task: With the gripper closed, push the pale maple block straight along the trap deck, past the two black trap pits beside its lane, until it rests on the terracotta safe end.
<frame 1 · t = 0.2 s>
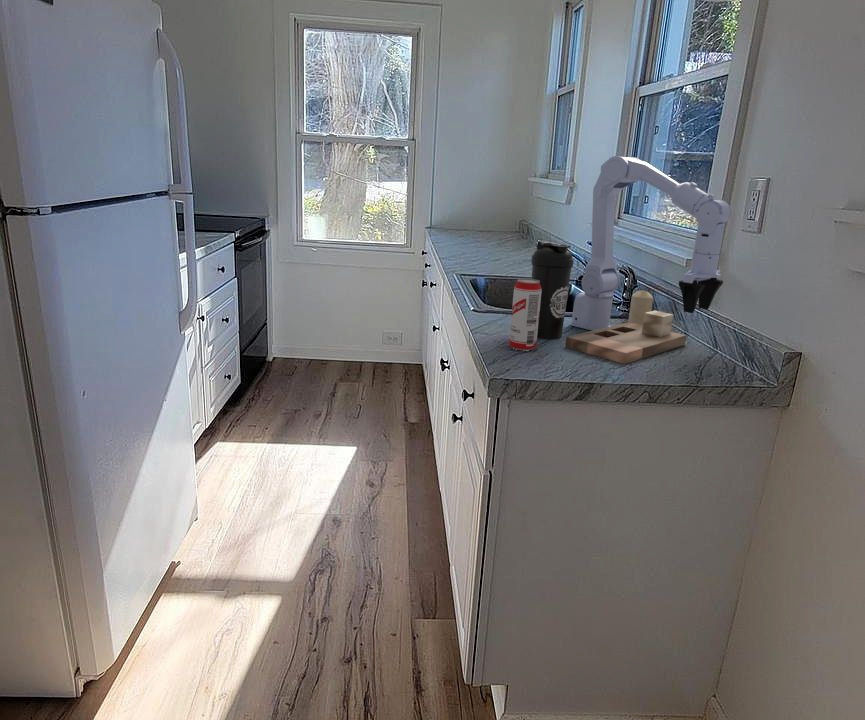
hand: (696, 310, 155), 10 cm above the counter, fingers open, 7 cm apart
trap deck: (626, 345, 159), on the counter
maple block: (655, 333, 162), point 2 cm above the counter, touching trap deck
water bottle: (544, 335, 165), on the counter
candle: (637, 327, 179), on the counter
beer can: (522, 349, 152), on the counter
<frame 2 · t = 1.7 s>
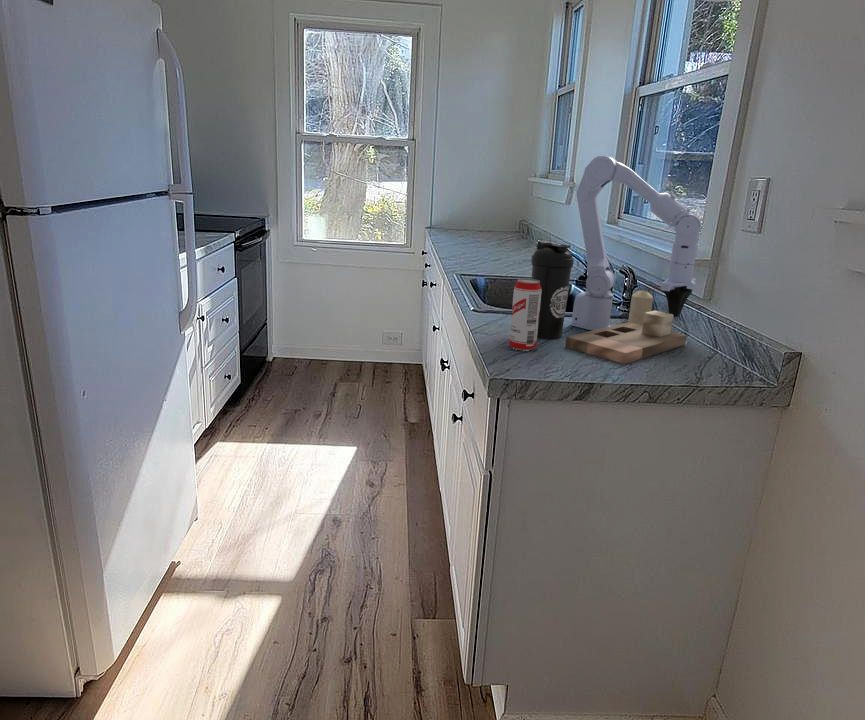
hand: (674, 316, 166), 6 cm above the counter, fingers closed
nothing on the counter moved.
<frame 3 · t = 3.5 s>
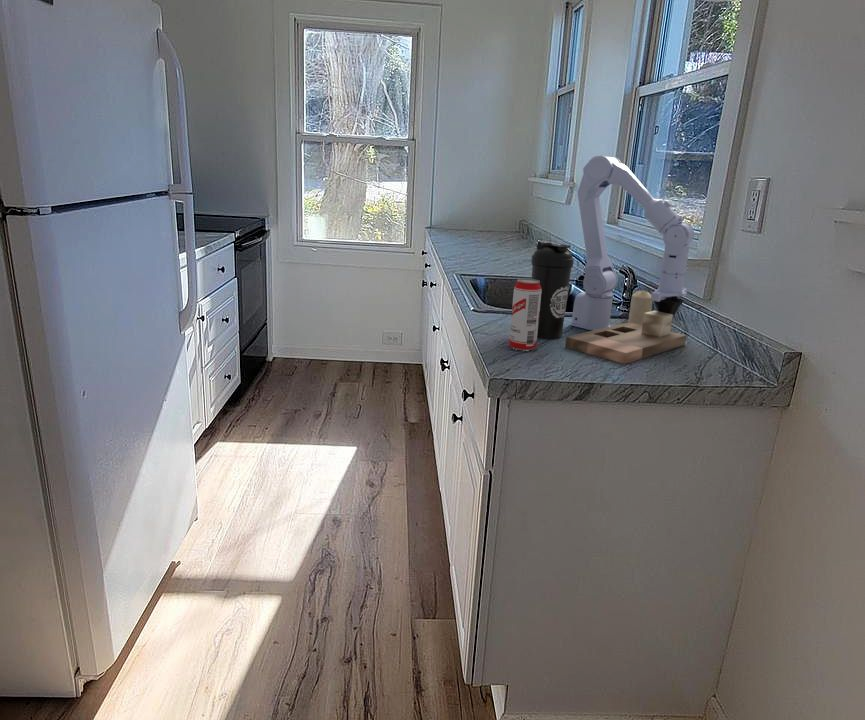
hand: (664, 326, 164), 4 cm above the counter, fingers closed
maple block: (655, 333, 162), point 3 cm above the counter, touching gripper, trap deck
everything else where it was.
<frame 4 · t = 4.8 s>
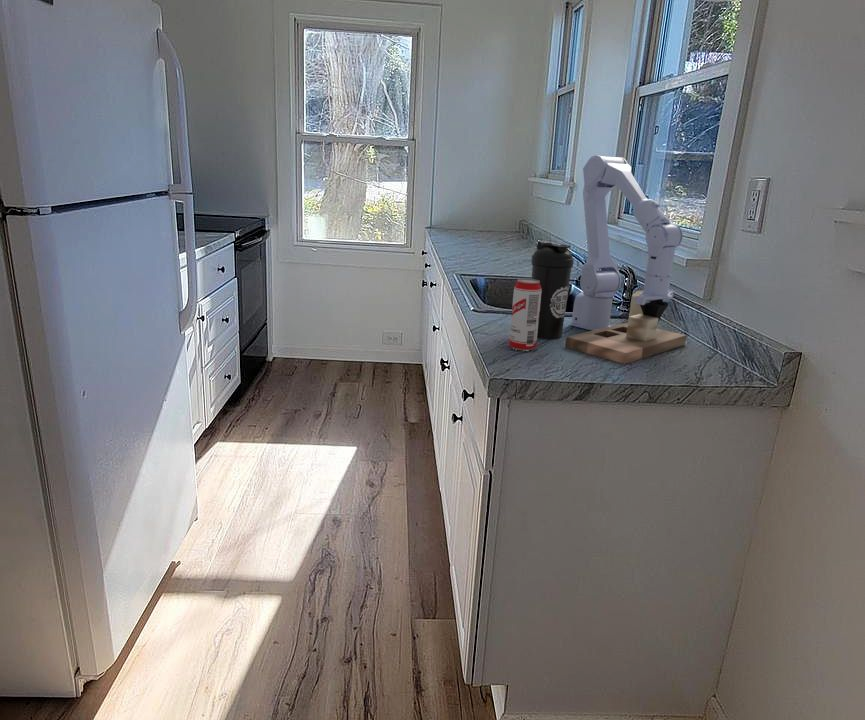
hand: (649, 330, 160), 4 cm above the counter, fingers closed
maple block: (640, 337, 157), point 3 cm above the counter, touching gripper
everything else where it was.
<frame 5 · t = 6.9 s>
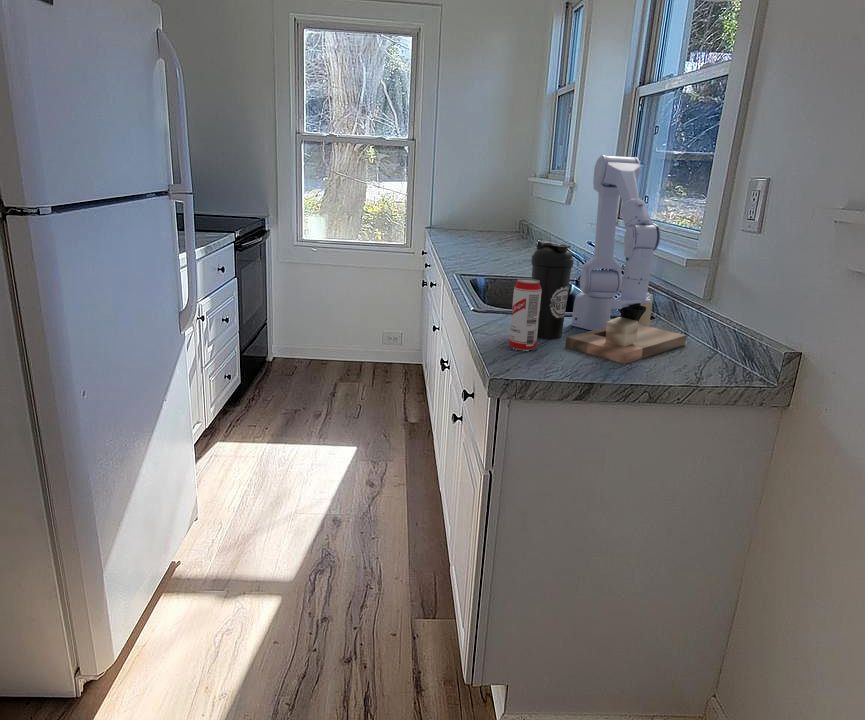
hand: (628, 335, 153), 4 cm above the counter, fingers closed, pressing on maple block
maple block: (620, 341, 151), point 3 cm above the counter, tilted 7°, touching gripper, trap deck
everything else where it was.
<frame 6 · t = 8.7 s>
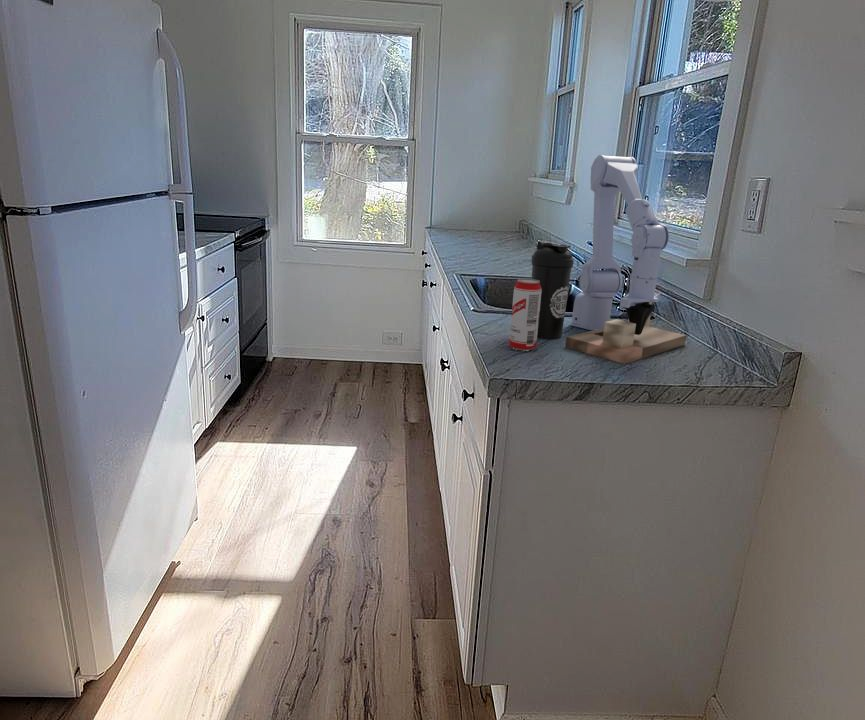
hand: (635, 333, 155), 4 cm above the counter, fingers closed
maple block: (617, 343, 150), point 2 cm above the counter, touching trap deck
everything else where it was.
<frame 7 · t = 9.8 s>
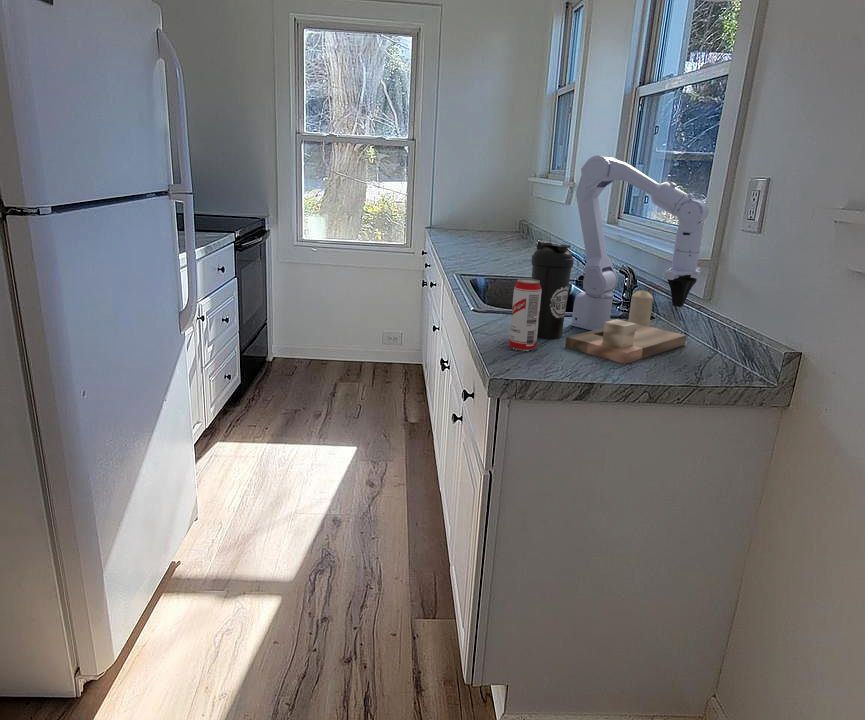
hand: (677, 306, 161), 9 cm above the counter, fingers closed
nothing on the counter moved.
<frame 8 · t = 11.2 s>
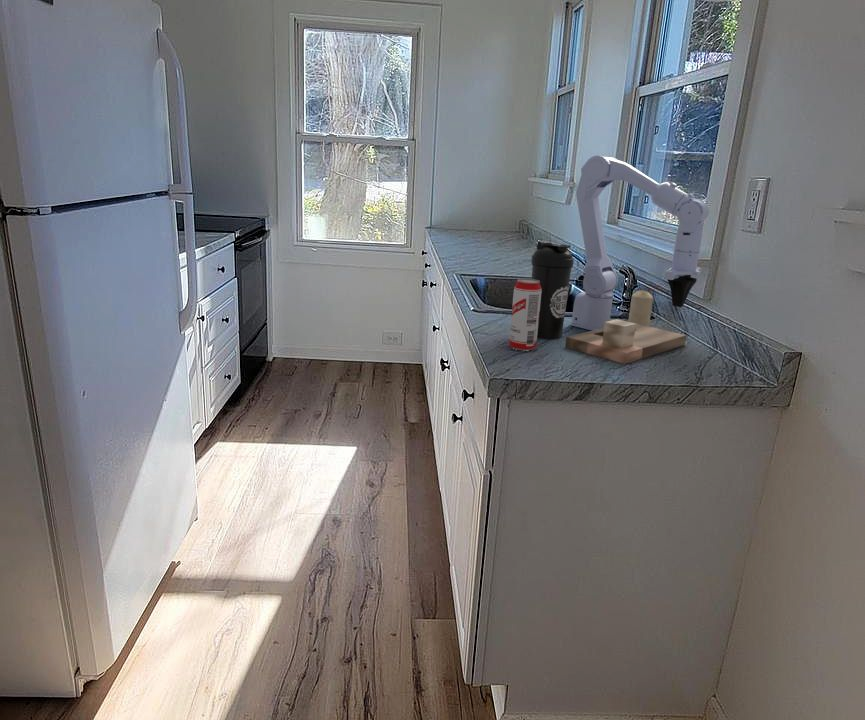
hand: (677, 306, 161), 9 cm above the counter, fingers closed
nothing on the counter moved.
at the end: maple block inside the target area on the trap deck (1.7 cm from its centre), point 2.5 cm above the trap deck's base; maple block tilted 0° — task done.
